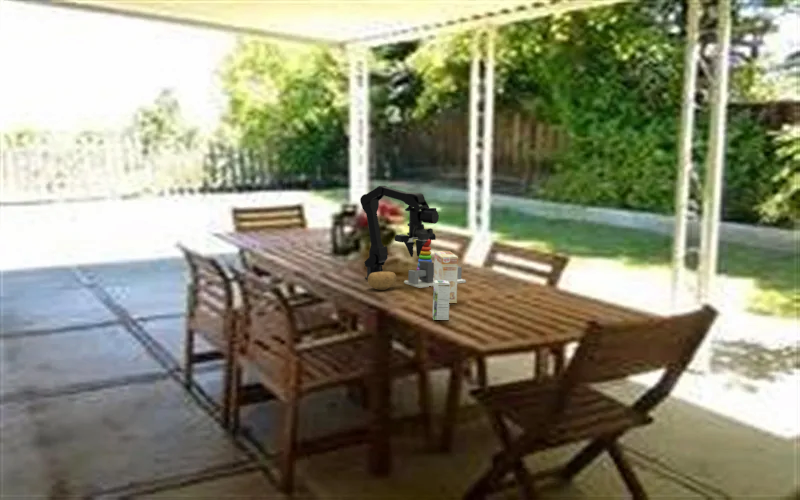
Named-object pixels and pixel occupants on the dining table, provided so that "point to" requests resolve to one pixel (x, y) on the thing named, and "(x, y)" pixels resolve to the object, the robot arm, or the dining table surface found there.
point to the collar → (427, 270)
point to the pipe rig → (415, 281)
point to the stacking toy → (425, 253)
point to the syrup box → (441, 300)
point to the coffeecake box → (447, 271)
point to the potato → (381, 280)
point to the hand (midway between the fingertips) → (414, 256)
